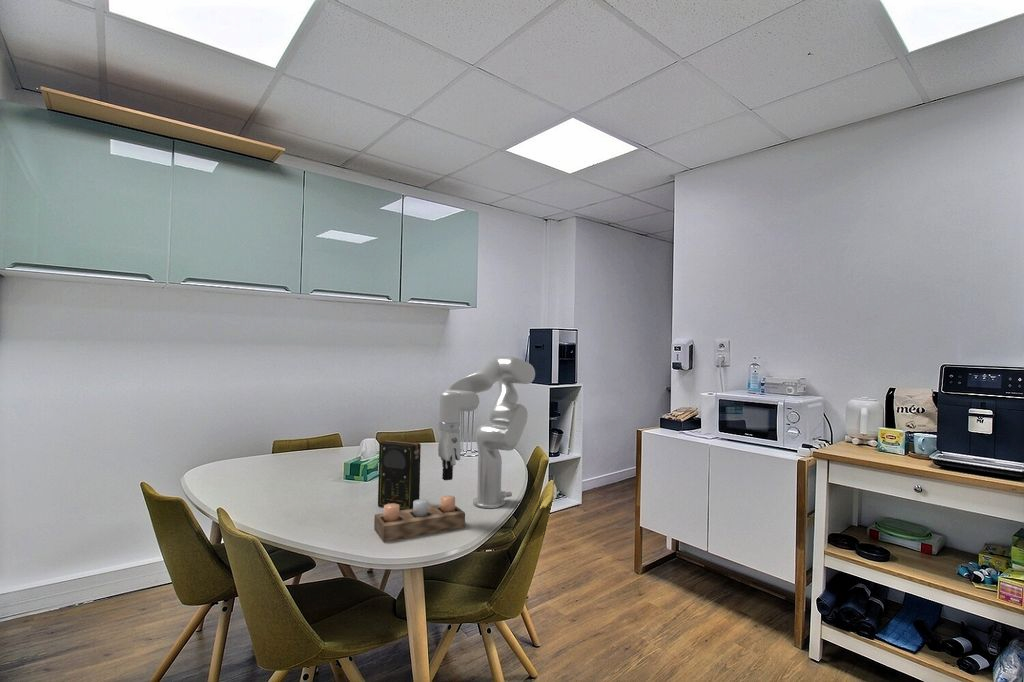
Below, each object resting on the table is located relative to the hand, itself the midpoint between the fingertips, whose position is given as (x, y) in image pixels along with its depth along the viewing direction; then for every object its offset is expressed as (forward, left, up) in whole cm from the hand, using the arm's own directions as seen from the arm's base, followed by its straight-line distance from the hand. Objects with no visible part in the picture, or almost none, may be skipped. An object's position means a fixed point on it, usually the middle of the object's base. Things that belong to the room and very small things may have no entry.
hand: (447, 479), depth 166 cm
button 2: (-1, 0, -12) cm, 12 cm away
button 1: (+19, 0, -12) cm, 23 cm away
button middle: (+9, 0, -12) cm, 15 cm away
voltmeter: (+9, -25, -16) cm, 31 cm away
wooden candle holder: (+9, 0, -16) cm, 18 cm away
